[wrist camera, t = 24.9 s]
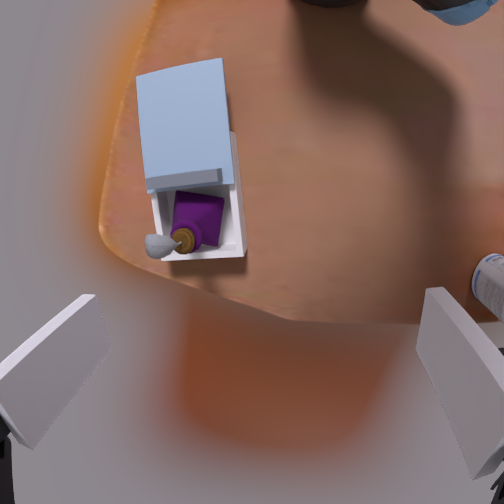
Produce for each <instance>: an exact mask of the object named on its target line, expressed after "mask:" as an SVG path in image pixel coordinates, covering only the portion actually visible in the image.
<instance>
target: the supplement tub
mask: <svg viewBox="0 0 504 504" xmlns="http://www.w3.org/2000/svg"><path fill="white" fill-rule="evenodd" d="M472 290H473V293H474V295H475V297H476V298H477V299H478V300H479V301H480V302H481V303H483V304H484V305H485V306H486V307H487V308H488V309H489V310H490V311H491V312H492V313H493V314H494V315H495V316H497V317H498V318H499V319H500V320H501V321H502V322H503V323H504V256H502V255H500V254H490V255H488V256H486V257H485V258H483V259H482V260H481V261H480V263H479V264H478V265H477V267H476V269H475V271H474V274H473V278H472Z"/></svg>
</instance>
